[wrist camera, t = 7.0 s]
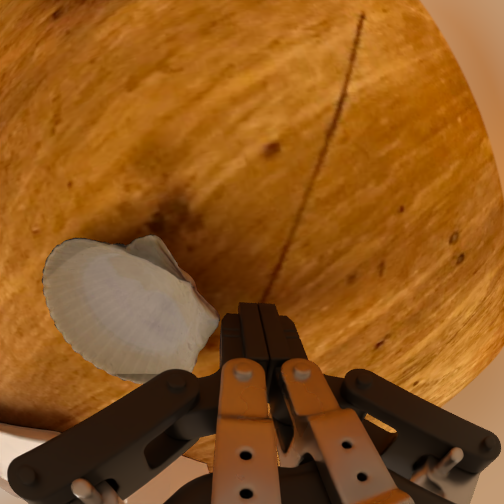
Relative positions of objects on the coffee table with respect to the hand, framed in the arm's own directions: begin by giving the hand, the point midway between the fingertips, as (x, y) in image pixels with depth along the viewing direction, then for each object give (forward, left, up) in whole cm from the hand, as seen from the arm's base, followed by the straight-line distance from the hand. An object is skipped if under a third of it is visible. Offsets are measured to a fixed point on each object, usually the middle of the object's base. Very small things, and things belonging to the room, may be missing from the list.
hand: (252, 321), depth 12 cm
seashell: (0, -6, -1) cm, 6 cm away
